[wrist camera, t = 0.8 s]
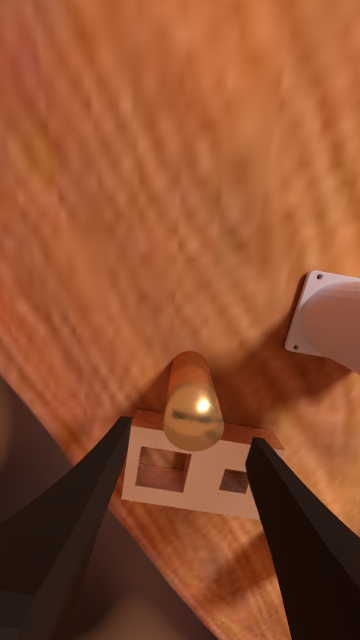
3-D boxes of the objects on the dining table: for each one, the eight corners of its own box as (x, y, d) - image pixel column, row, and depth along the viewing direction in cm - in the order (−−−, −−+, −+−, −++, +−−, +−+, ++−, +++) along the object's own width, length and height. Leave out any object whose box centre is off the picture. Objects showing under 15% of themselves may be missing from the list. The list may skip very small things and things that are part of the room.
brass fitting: (211, 354, 20) (230, 405, 12) (204, 387, 21) (216, 455, 13) (174, 348, 20) (168, 395, 12) (168, 382, 20) (159, 446, 13)
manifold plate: (273, 430, 22) (284, 450, 19) (251, 495, 24) (259, 519, 21) (137, 408, 21) (131, 425, 19) (127, 476, 23) (121, 499, 21)
